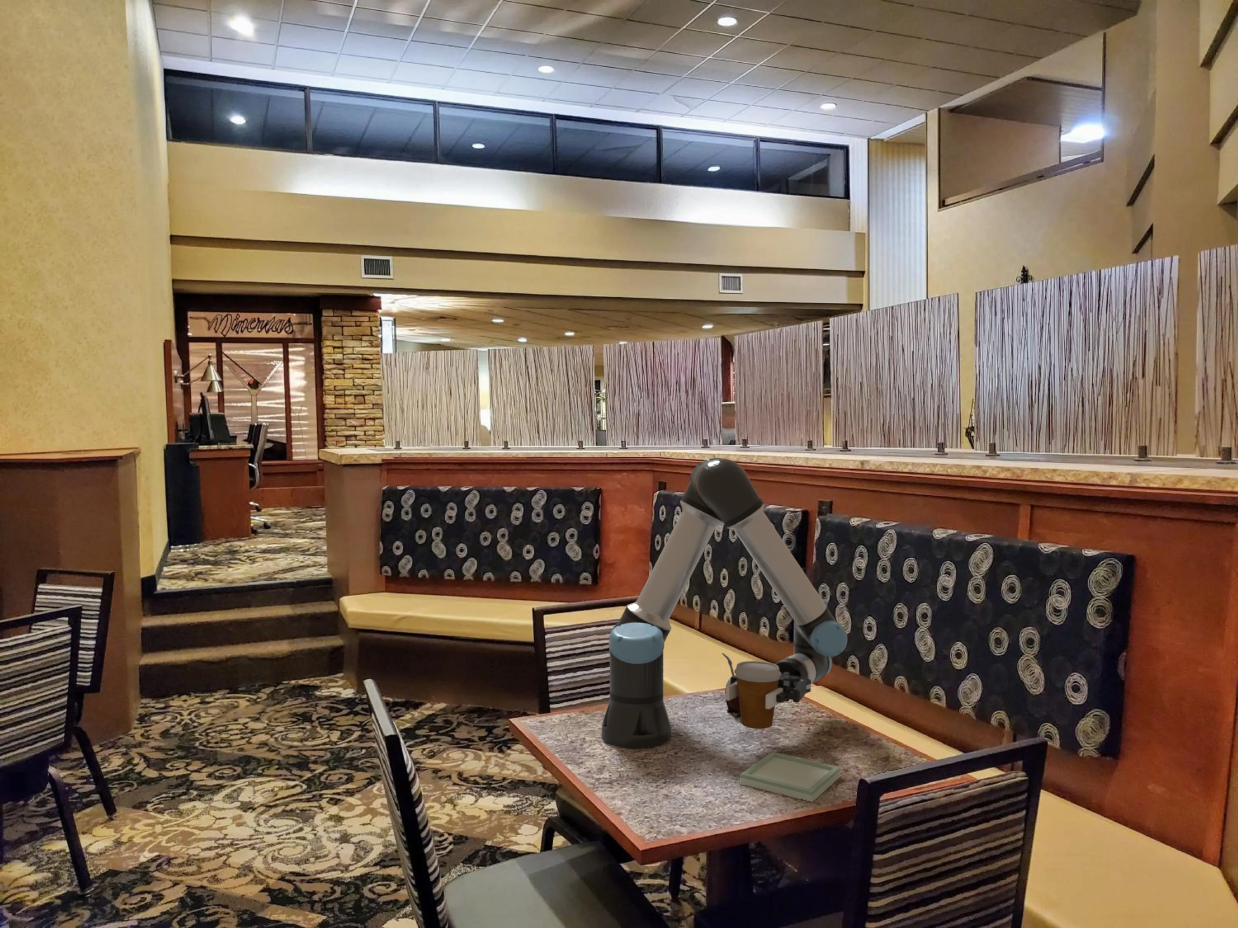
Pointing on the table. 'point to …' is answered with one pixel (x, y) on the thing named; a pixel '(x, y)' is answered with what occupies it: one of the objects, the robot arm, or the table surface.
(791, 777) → the coaster plate
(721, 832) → the table surface
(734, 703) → the mate gourd
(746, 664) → the disposable coffee cup
